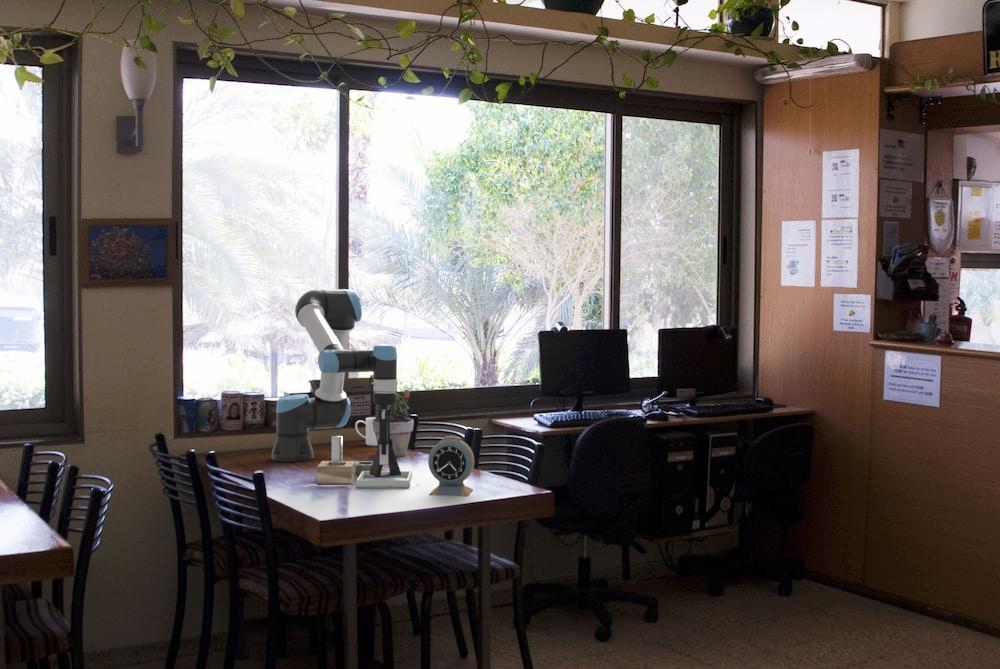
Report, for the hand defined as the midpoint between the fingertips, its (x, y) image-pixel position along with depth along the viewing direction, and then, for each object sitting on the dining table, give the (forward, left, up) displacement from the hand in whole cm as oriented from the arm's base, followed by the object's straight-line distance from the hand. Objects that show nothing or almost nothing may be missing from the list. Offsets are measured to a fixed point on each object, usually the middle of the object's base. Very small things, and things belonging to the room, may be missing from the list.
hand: (385, 462), depth 358 cm
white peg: (-2, -16, -7) cm, 17 cm away
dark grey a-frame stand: (0, 0, -4) cm, 4 cm away
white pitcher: (-82, -13, -7) cm, 83 cm away
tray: (0, 0, -7) cm, 7 cm away
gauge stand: (-15, -8, -7) cm, 18 cm away
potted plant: (-57, -3, -7) cm, 58 cm away
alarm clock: (+15, +22, -7) cm, 28 cm away
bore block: (-2, -16, -7) cm, 18 cm away
